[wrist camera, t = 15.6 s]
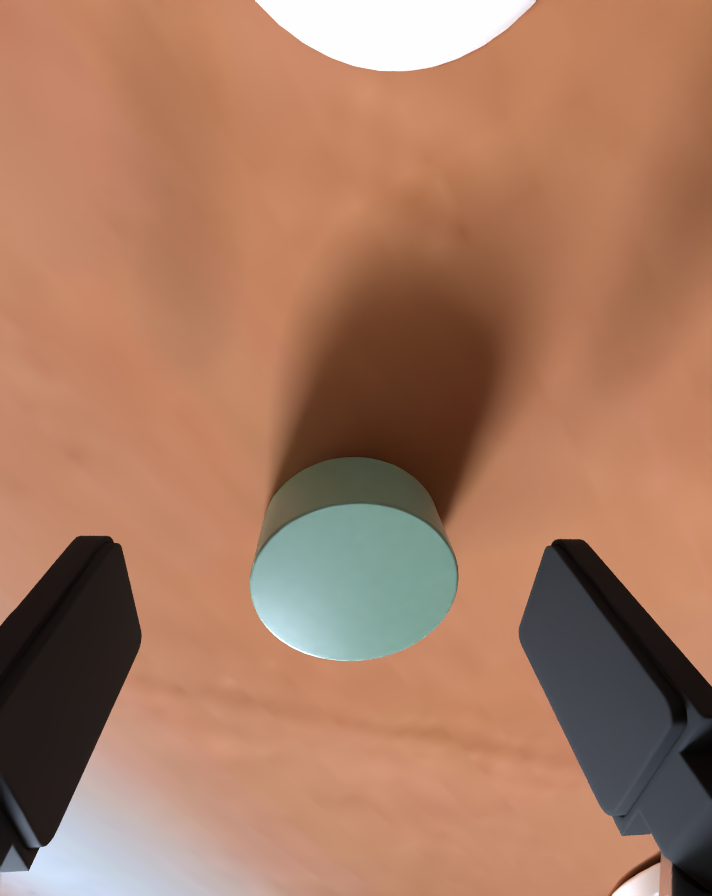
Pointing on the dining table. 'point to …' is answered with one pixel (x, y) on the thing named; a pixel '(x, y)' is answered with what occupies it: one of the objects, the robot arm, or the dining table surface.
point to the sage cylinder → (352, 561)
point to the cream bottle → (395, 28)
